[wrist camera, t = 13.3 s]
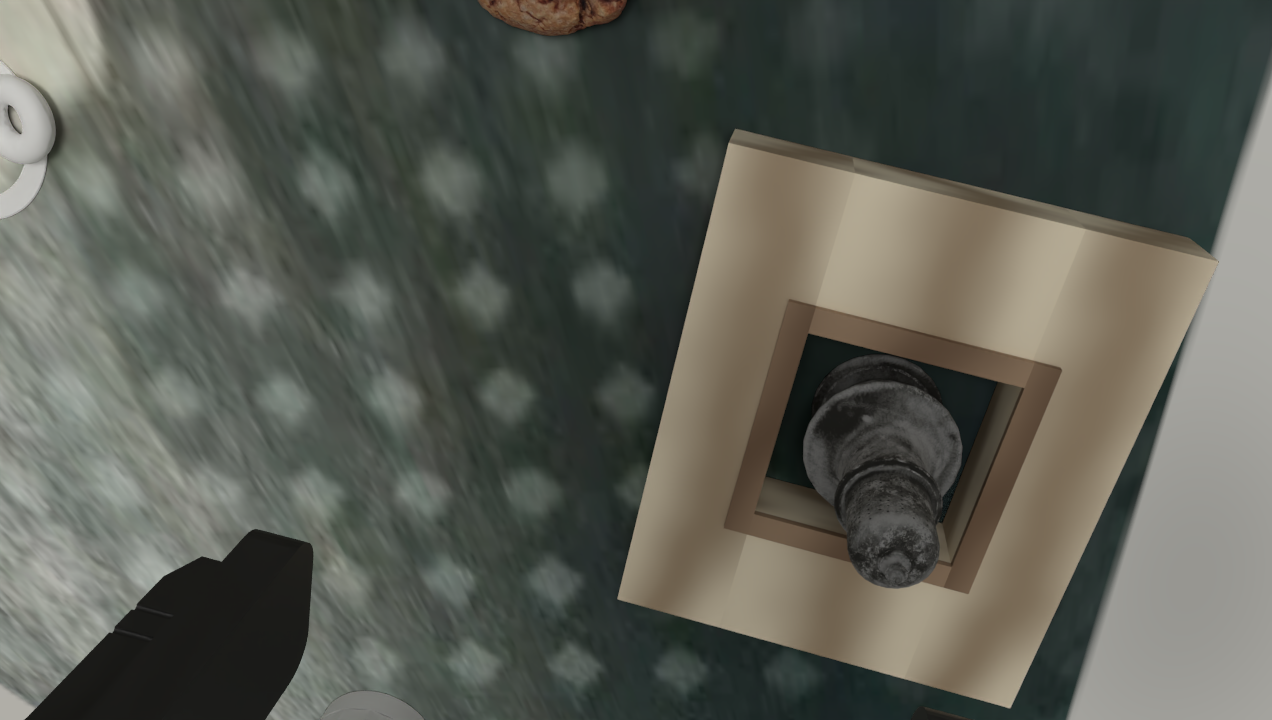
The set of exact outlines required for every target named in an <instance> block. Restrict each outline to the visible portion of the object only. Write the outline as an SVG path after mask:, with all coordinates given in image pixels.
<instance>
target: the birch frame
mask: <svg viewBox="0 0 1272 720" xmlns="http://www.w3.org/2000/svg"><path fill="white" fill-rule="evenodd" d="M1218 263H1219V261H1218V260H1217V259H1215V258H1214V257H1213V256H1211V255H1210V254H1209V253H1208V252H1206V251H1205V250H1204V249H1203V248H1201V247H1200V246H1199V245H1197V244H1196V243H1195V242H1194V241H1192V240H1191V239H1190V238H1187V237H1183V236H1179V235H1175V234H1171V233H1166V232H1162V231H1158V230H1154V229H1150V228H1146V227H1142V226H1137V225H1133V224H1129V223H1125V222H1121V221H1117V220H1112V219H1108V218H1104V217H1100V216H1096V215H1092V214H1088V213H1083V212H1079V211H1075V210H1071V209H1067V208H1063V207H1059V206H1054V205H1050V204H1046V203H1042V202H1038V201H1034V200H1030V199H1025V198H1021V197H1017V196H1013V195H1009V194H1005V193H1000V192H996V191H992V190H988V189H984V188H980V187H976V186H971V185H967V184H963V183H959V182H955V181H951V180H947V179H942V178H938V177H934V176H930V175H926V174H922V173H917V172H913V171H909V170H905V169H901V168H897V167H893V166H888V165H884V164H880V163H876V162H872V161H868V160H864V159H859V158H855V157H851V156H847V155H843V154H839V153H835V152H830V151H826V150H822V149H818V148H814V147H810V146H805V145H801V144H797V143H793V142H789V141H785V140H781V139H776V138H772V137H768V136H764V135H760V134H756V133H752V132H747V131H743V130H739V129H735V130H734V132H733V135H732V137H731V139H730V141H729V144H728V148H727V152H726V156H725V160H724V164H723V168H722V173H721V177H720V181H719V185H718V189H717V193H716V197H715V201H714V205H713V209H712V214H711V218H710V222H709V226H708V230H707V234H706V238H705V242H704V246H703V250H702V254H701V259H700V263H699V267H698V271H697V275H696V279H695V283H694V287H693V291H692V295H691V300H690V304H689V308H688V312H687V316H686V320H685V324H684V328H683V332H682V336H681V340H680V345H679V349H678V353H677V357H676V361H675V365H674V369H673V373H672V377H671V381H670V386H669V390H668V394H667V398H666V402H665V406H664V410H663V414H662V418H661V422H660V426H659V431H658V435H657V439H656V443H655V447H654V451H653V455H652V459H651V463H650V467H649V472H648V476H647V480H646V484H645V488H644V492H643V496H642V500H641V504H640V508H639V512H638V517H637V521H636V525H635V529H634V533H633V537H632V541H631V545H630V549H629V553H628V557H627V562H626V566H625V570H624V574H623V578H622V582H621V586H620V590H619V594H618V598H617V599H618V600H622V601H626V602H629V603H633V604H636V605H640V606H644V607H647V608H651V609H654V610H658V611H662V612H665V613H669V614H672V615H676V616H680V617H683V618H687V619H690V620H694V621H698V622H701V623H705V624H708V625H712V626H716V627H719V628H723V629H726V630H730V631H734V632H737V633H741V634H744V635H748V636H752V637H755V638H759V639H762V640H766V641H770V642H773V643H777V644H780V645H784V646H788V647H791V648H795V649H798V650H802V651H806V652H809V653H813V654H816V655H820V656H824V657H827V658H831V659H834V660H838V661H842V662H845V663H849V664H852V665H856V666H860V667H863V668H867V669H870V670H874V671H878V672H881V673H885V674H888V675H892V676H896V677H899V678H903V679H906V680H910V681H914V682H917V683H921V684H924V685H928V686H932V687H935V688H939V689H942V690H946V691H950V692H953V693H957V694H960V695H964V696H968V697H971V698H975V699H978V700H982V701H986V702H989V703H993V704H996V705H1000V706H1004V707H1007V708H1011V706H1012V703H1013V701H1014V699H1015V697H1016V695H1017V693H1018V691H1019V689H1020V686H1021V684H1022V682H1023V680H1024V678H1025V676H1026V674H1027V671H1028V669H1029V667H1030V665H1031V663H1032V661H1033V659H1034V656H1035V654H1036V652H1037V650H1038V648H1039V646H1040V644H1041V641H1042V639H1043V637H1044V635H1045V633H1046V631H1047V629H1048V626H1049V624H1050V622H1051V620H1052V618H1053V616H1054V614H1055V612H1056V609H1057V607H1058V605H1059V603H1060V601H1061V599H1062V597H1063V594H1064V592H1065V590H1066V588H1067V586H1068V584H1069V582H1070V579H1071V577H1072V575H1073V573H1074V571H1075V569H1076V567H1077V564H1078V562H1079V560H1080V558H1081V556H1082V554H1083V552H1084V549H1085V547H1086V545H1087V543H1088V541H1089V539H1090V537H1091V535H1092V532H1093V530H1094V528H1095V526H1096V524H1097V522H1098V520H1099V517H1100V515H1101V513H1102V511H1103V509H1104V507H1105V505H1106V502H1107V500H1108V498H1109V496H1110V494H1111V492H1112V490H1113V487H1114V485H1115V483H1116V481H1117V479H1118V477H1119V475H1120V472H1121V470H1122V468H1123V466H1124V464H1125V462H1126V460H1127V458H1128V455H1129V453H1130V451H1131V449H1132V447H1133V445H1134V443H1135V440H1136V438H1137V436H1138V434H1139V432H1140V430H1141V428H1142V425H1143V423H1144V421H1145V419H1146V417H1147V415H1148V413H1149V410H1150V408H1151V406H1152V404H1153V402H1154V400H1155V398H1156V395H1157V393H1158V391H1159V389H1160V387H1161V385H1162V383H1163V381H1164V378H1165V376H1166V374H1167V372H1168V370H1169V368H1170V366H1171V363H1172V361H1173V359H1174V357H1175V355H1176V353H1177V351H1178V348H1179V346H1180V344H1181V342H1182V340H1183V338H1184V336H1185V333H1186V331H1187V329H1188V327H1189V325H1190V323H1191V321H1192V318H1193V316H1194V314H1195V312H1196V310H1197V308H1198V306H1199V304H1200V301H1201V299H1202V297H1203V295H1204V293H1205V291H1206V289H1207V286H1208V284H1209V282H1210V280H1211V278H1212V276H1213V274H1214V271H1215V269H1216V267H1217V265H1218ZM808 333H810V334H813V335H817V336H821V337H825V338H829V339H833V340H837V341H841V342H845V343H849V344H853V345H857V346H861V347H865V348H868V349H872V350H876V351H880V352H884V353H888V354H892V355H896V356H900V357H904V358H908V359H912V360H916V361H920V362H923V363H927V364H931V365H935V366H939V367H943V368H947V369H951V370H955V371H959V372H963V373H967V374H971V375H974V376H978V377H982V378H986V379H990V380H994V381H998V383H997V386H996V388H995V391H994V393H993V396H992V398H991V401H990V403H989V406H988V409H987V411H986V414H985V416H984V419H983V421H982V424H981V426H980V429H979V431H978V434H977V437H976V439H975V442H974V444H973V447H972V449H971V452H970V454H969V457H968V459H967V462H966V465H965V467H964V470H963V472H962V475H961V477H960V480H959V482H958V485H957V487H956V490H955V493H954V495H953V498H952V500H951V503H950V505H949V508H948V510H947V513H946V515H945V518H944V521H943V523H939V522H938V524H937V525H936V529H937V534H938V539H939V544H940V551H939V559H938V562H937V564H936V567H935V569H934V570H933V572H932V573H931V574H930V575H929V576H928V577H927V578H926V579H924V580H923V581H921V582H920V583H918V584H915V585H913V586H910V587H906V588H899V589H894V588H884V587H881V586H877V585H874V584H873V583H871V582H869V581H867V580H865V579H864V578H863V577H862V576H861V575H860V574H859V573H858V572H857V571H856V569H855V568H854V566H853V565H852V563H851V561H850V557H849V554H848V550H847V532H846V531H845V530H844V529H843V527H842V526H841V524H840V523H839V521H838V520H837V516H836V513H835V509H834V506H832V505H831V504H830V503H829V502H828V501H826V500H825V499H824V498H823V497H822V496H821V495H820V494H819V493H818V492H817V491H816V490H815V489H811V488H807V487H803V486H800V485H796V484H792V483H788V482H784V481H781V480H777V479H773V478H769V477H766V476H765V475H766V472H767V469H768V465H769V462H770V459H771V455H772V452H773V449H774V445H775V442H776V439H777V435H778V432H779V429H780V425H781V422H782V419H783V415H784V412H785V409H786V405H787V402H788V399H789V395H790V392H791V389H792V385H793V382H794V379H795V375H796V372H797V369H798V365H799V362H800V359H801V355H802V352H803V349H804V345H805V342H806V339H807V335H808Z"/></svg>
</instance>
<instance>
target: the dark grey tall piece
mask: <svg viewBox="0 0 1272 720" xmlns="http://www.w3.org/2000/svg"><path fill="white" fill-rule="evenodd" d="M961 458H962V443H961V438H960V434H959V429H958V427H957V425H956V423H955V421H954V420H953V418H952V416H951V414H950V413H949V411H948V410H947V409H946V408H945V407H944V406H943V404H942V399H941V395H940V392H939V390H938V389H937V387H936V385H935V383H934V381H933V380H932V378H931V377H930V376H929V375H928V374H927V373H925V372H924V371H923V370H922V369H921V368H920V367H919V366H917V365H915V364H913V363H912V362H910V361H908V360H906V359H903V358H900V357H896V356H892V355H887V354H869V355H864V356H860V357H855V358H852V359H850V360H848V361H846V362H844V363H842V364H840V365H838V366H837V367H836V368H835V369H833V370H832V371H831V372H830V373H829V374H828V375H826V376H825V378H824V379H823V381H822V382H821V384H820V385H819V387H818V388H817V390H816V393H815V396H814V399H813V402H812V416H811V421H810V422H809V425H808V428H807V431H806V434H805V437H804V440H803V461H804V465H805V468H806V472H807V475H808V478H809V479H810V481H811V482H812V484H813V486H814V487H815V489H816V491H817V492H818V493H819V494H820V495H821V496H822V497H823V498H824V499H825V500H826V501H828V502H829V503H830V504H831V505H832V506H834V509H835V513H836V516H837V520H838V521H839V523H840V524H841V526H842V527H843V529H844V530H845V531H846V532H847V550H848V554H849V557H850V561H851V563H852V565H853V566H854V568H855V569H856V571H857V572H858V573H859V574H860V575H861V576H862V577H863V578H864V579H865V580H867V581H869V582H871V583H873V584H874V585H877V586H881V587H884V588H894V589H899V588H906V587H910V586H913V585H915V584H918V583H920V582H921V581H923V580H924V579H926V578H927V577H928V576H929V575H930V574H931V573H932V572H933V570H934V569H935V567H936V564H937V562H938V559H939V551H940V544H939V539H938V534H937V529H936V525H937V524H938V521H939V519H940V516H941V514H942V504H943V500H942V497H943V496H944V495H945V493H946V492H947V491H948V490H949V488H950V487H951V486H952V485H953V483H954V481H955V479H956V476H957V474H958V471H959V469H960V466H961Z"/></svg>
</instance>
